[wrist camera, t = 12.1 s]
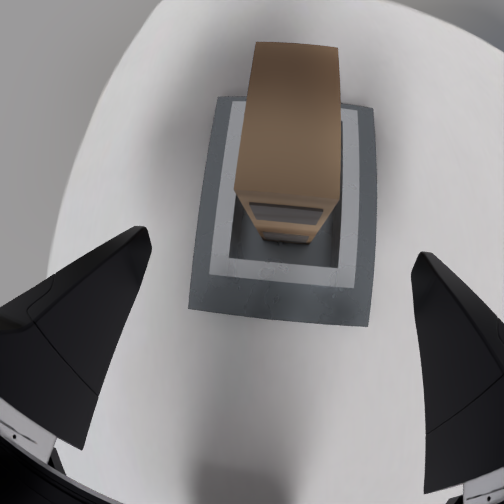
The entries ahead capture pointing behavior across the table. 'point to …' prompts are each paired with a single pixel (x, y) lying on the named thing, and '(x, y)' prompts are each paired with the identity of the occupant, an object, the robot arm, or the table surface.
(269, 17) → the table surface
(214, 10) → the table surface
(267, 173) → the tan tall block
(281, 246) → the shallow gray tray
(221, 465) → the table surface
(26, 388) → the robot arm
